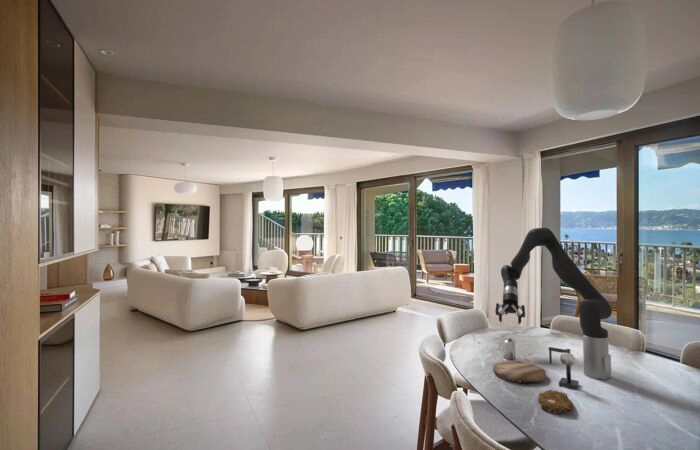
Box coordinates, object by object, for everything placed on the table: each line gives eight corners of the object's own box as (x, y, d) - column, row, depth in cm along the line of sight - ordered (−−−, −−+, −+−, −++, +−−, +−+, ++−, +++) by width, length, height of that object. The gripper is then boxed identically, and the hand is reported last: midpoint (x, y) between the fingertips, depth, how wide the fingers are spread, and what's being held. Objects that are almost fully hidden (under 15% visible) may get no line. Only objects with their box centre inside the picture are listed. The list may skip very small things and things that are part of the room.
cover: (520, 362, 177) (519, 339, 177) (512, 365, 173) (511, 341, 173) (507, 358, 183) (506, 336, 183) (499, 361, 179) (498, 338, 179)
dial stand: (578, 384, 150) (577, 349, 150) (576, 389, 146) (574, 352, 146) (551, 378, 157) (550, 344, 157) (548, 383, 152) (547, 347, 152)
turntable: (555, 374, 159) (555, 370, 159) (528, 386, 147) (528, 382, 147) (510, 360, 176) (510, 357, 176) (483, 370, 164) (483, 366, 164)
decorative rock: (536, 396, 142) (539, 415, 128) (536, 385, 142) (538, 403, 128) (571, 399, 137) (577, 419, 124) (570, 388, 137) (576, 407, 124)
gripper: (495, 291, 200) (494, 317, 190) (524, 293, 194) (525, 319, 183) (496, 299, 205) (495, 325, 194) (525, 301, 199) (525, 327, 188)
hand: (509, 322), depth 189 cm, fingers open, 8 cm apart
